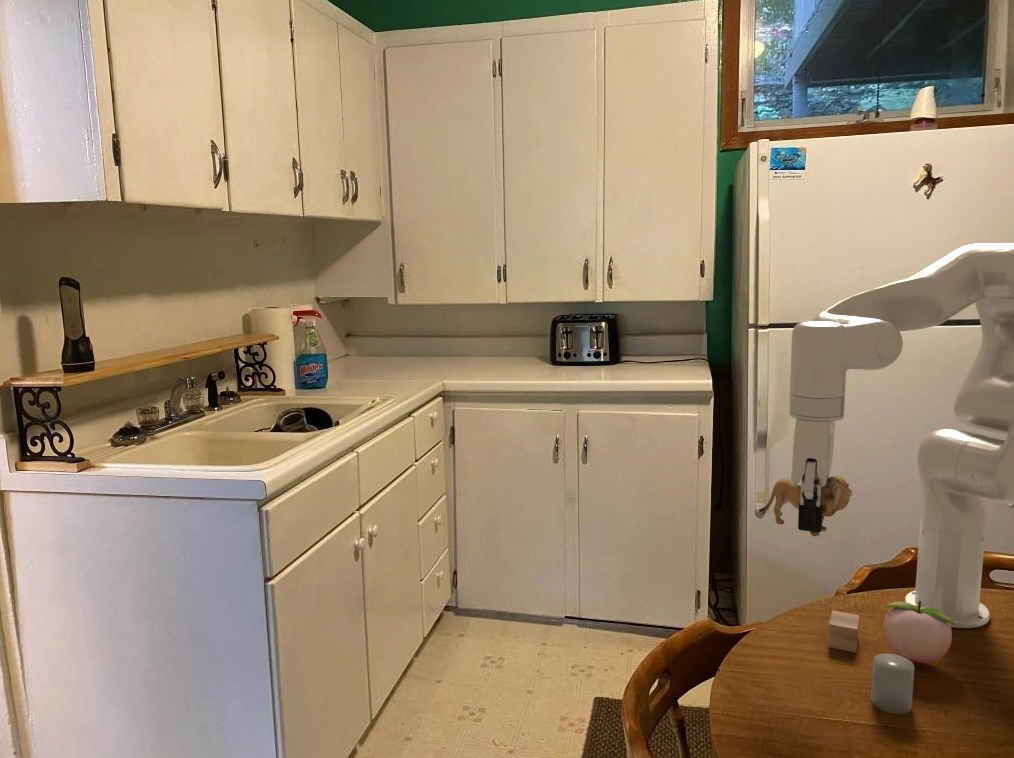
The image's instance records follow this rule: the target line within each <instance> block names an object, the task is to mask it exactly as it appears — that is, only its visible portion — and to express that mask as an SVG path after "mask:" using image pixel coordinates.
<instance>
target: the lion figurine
mask: <svg viewBox="0 0 1014 758" xmlns="http://www.w3.org/2000/svg"><path fill="white" fill-rule="evenodd" d="M814 484H817V485H819V482H815V483H814ZM849 487H850V483H848V482H847V480H846V479H845V478H844V477H843V476H838V475H836V476H835V475H834V476H833V475H832V476H829V478H828V482H827V485H826V486H825V487H823V488H822V493H821V505H822V506H823V510H822V524H823V522H824V520H825V517H826V518H827V517H828V518H830V517H832V516H834V515H835V514H836V513H837V512H838V511H842V510H844V509H845V508H847V506H848V505H849V503H850V501H851V497H852V495H853V489H851V488H849ZM814 492H816V494H817V489H814ZM800 496H801V484H799V483H796V485H794V484H792V482H791V479H788V478H780V479H779V480H777V481H776V483H775V484H774V486H773V489H772V492H771V495H770V498H769V501H768V502H767V504H766V505H765V506H764V507H761V508H759V509H758V510H757V512H760V513H764V512H767V510H769V508H770V507H771V505H772V504H773V502H774V499H775V504H774V509H773V513H774V516H775V523H776V525H784V524H785V520H783V519H782V518H781V516H783V511H781V510H782V507H783V506H784V505H786V504H788V503H790V504H791V506H793V508H794V509H797V510H798V511H799V503H800ZM827 529H828V528H827V527H826V526H824V525H822V530H821V532H826V531H827ZM821 532H819V533H818V532H810V531H809V533H810V535H811V536H812V537H819V536H820V535H821V534H820V533H821Z"/></svg>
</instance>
